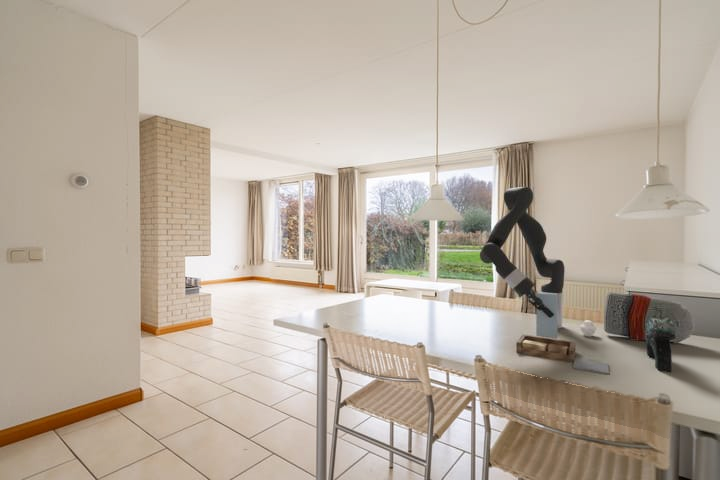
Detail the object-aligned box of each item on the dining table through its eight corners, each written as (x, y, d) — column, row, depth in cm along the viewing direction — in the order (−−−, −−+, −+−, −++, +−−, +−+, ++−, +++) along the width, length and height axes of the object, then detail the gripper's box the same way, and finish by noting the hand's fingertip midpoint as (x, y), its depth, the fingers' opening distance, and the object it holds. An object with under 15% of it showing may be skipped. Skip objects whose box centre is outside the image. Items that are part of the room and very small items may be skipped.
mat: (574, 359, 129) (574, 357, 129) (608, 364, 124) (608, 363, 124) (573, 368, 121) (573, 366, 121) (608, 374, 116) (608, 372, 116)
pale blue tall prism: (536, 335, 140) (536, 293, 140) (537, 333, 143) (537, 291, 143) (556, 338, 136) (556, 294, 136) (557, 336, 139) (557, 293, 139)
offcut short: (548, 356, 133) (548, 346, 133) (549, 354, 136) (549, 343, 136) (566, 360, 129) (566, 349, 129) (567, 357, 132) (567, 346, 132)
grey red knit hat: (608, 292, 155) (699, 304, 141) (606, 290, 161) (693, 301, 147) (603, 335, 156) (692, 351, 142) (601, 331, 162) (687, 346, 148)
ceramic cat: (676, 375, 115) (677, 313, 115) (651, 371, 118) (652, 311, 118) (661, 356, 132) (661, 302, 132) (639, 353, 135) (640, 301, 135)
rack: (516, 352, 137) (516, 342, 137) (522, 343, 148) (522, 334, 148) (573, 362, 127) (573, 351, 127) (575, 352, 137) (575, 341, 137)
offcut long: (522, 352, 138) (522, 342, 138) (525, 349, 141) (525, 339, 141) (544, 357, 133) (544, 346, 133) (547, 354, 136) (547, 343, 136)
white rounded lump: (599, 337, 156) (599, 321, 156) (585, 337, 156) (585, 321, 156) (590, 333, 162) (590, 318, 162) (577, 333, 162) (577, 318, 162)
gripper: (523, 278, 137) (558, 313, 131) (529, 274, 149) (562, 306, 143) (508, 290, 141) (542, 325, 134) (515, 285, 152) (547, 317, 146)
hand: (552, 315), depth 138 cm, fingers closed on pale blue tall prism, 3 cm apart
